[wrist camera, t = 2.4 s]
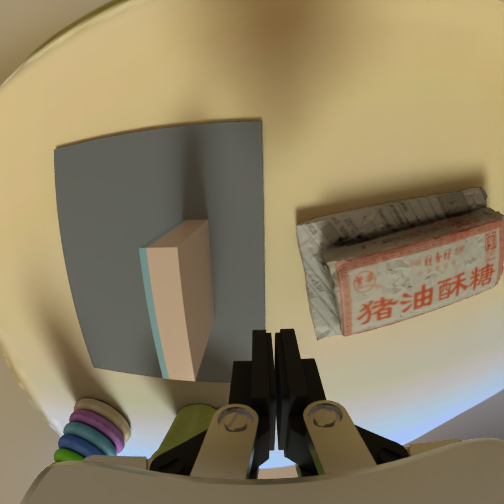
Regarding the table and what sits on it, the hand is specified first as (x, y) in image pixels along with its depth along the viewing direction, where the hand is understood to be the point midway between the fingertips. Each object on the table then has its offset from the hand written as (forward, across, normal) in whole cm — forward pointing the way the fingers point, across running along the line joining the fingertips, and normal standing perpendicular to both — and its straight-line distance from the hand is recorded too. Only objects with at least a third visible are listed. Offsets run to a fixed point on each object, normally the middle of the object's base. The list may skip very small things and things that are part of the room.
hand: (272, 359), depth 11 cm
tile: (+11, +5, 0) cm, 12 cm away
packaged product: (+12, -12, -1) cm, 17 cm away
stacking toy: (+12, +20, +20) cm, 31 cm away
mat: (+12, +9, 0) cm, 15 cm away
